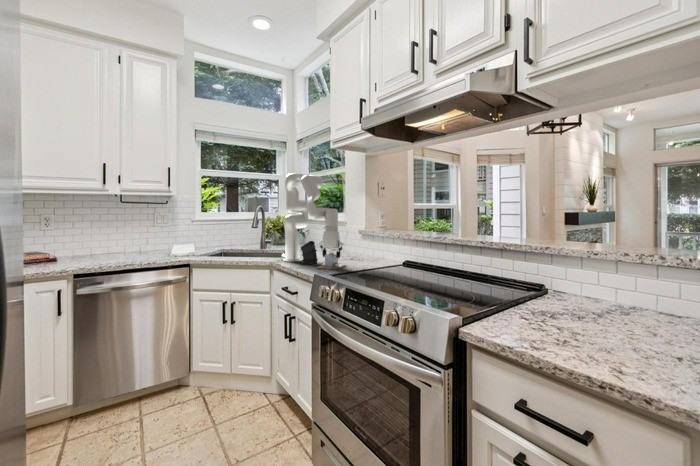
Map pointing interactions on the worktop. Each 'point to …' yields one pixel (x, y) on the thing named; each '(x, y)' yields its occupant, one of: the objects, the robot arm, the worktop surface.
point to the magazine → (309, 253)
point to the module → (330, 259)
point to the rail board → (335, 266)
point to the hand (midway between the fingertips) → (331, 257)
